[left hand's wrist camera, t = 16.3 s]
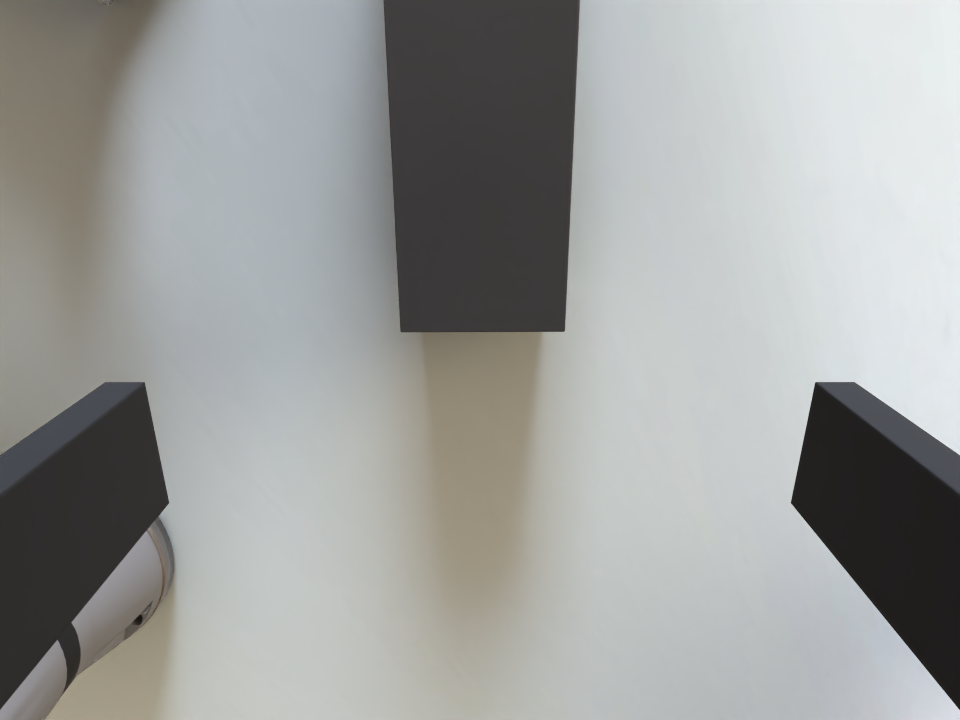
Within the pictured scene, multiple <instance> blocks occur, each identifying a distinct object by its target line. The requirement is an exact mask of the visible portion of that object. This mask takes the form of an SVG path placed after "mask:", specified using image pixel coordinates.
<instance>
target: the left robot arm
mask: <svg viewBox="0 0 960 720" xmlns="http://www.w3.org/2000/svg"><path fill="white" fill-rule="evenodd" d="M168 504H169V500H168V495H167V490H166V486H165V481H164V476H163V471H162V466H161V461H160V456H159V451H158V446H157V441H156V436H155V431H154V426H153V421H152V417H151V412H150V407H149V402H148V397H147V392H146V387H145V382H105V383H104V384H102V385H101V386H99V387H98V388H97V389H95V390H94V391H92V392H91V393H89V394H88V395H86V396H85V397H84V398H82V399H81V400H79V401H78V402H76V403H75V404H74V405H72V406H71V407H69V408H68V409H66V410H65V411H63V412H62V413H61V414H59V415H58V416H56V417H55V418H53V419H52V420H51V421H49V422H48V423H46V424H45V425H43V426H42V427H40V428H39V429H38V430H36V431H35V432H33V433H32V434H30V435H29V436H28V437H26V438H25V439H23V440H22V441H20V442H19V443H17V444H16V445H15V446H13V447H12V448H10V449H9V450H7V451H6V452H4V453H3V454H2V455H0V720H45V718H46V717H47V716H48V714H49V713H50V711H51V710H52V709H53V707H54V706H55V705H56V703H57V702H58V700H59V699H60V697H61V696H62V694H63V693H64V692H65V690H66V689H67V688H68V686H69V685H70V684H71V683H72V681H73V680H74V679H75V677H76V676H77V675H78V674H80V673H81V672H82V671H84V670H85V669H86V668H88V667H89V666H90V665H92V664H93V663H94V662H96V661H97V660H99V659H100V658H101V657H103V656H104V655H105V654H107V653H108V652H109V651H111V650H112V649H113V648H115V647H116V646H117V645H119V644H120V643H121V642H122V641H124V640H125V639H127V638H128V637H129V636H131V635H132V634H133V633H135V632H136V631H137V630H138V629H139V628H141V627H142V626H143V625H144V624H145V623H146V622H147V621H148V620H149V619H150V617H151V616H152V615H153V613H154V612H155V610H156V609H157V607H158V606H159V604H160V603H161V601H162V600H163V598H164V597H165V595H166V593H167V591H168V589H169V587H170V584H171V581H172V577H173V571H174V557H173V551H172V546H171V543H170V539H169V537H168V534H167V532H166V530H165V528H164V526H163V524H162V522H161V521H160V519H159V518H158V516H159V515H160V513H161V512H162V511H163V510H164V508H165V507H166V506H167V505H168ZM791 504H792V505H793V506H794V507H795V508H796V510H797V511H798V512H799V513H800V515H801V516H802V517H803V518H804V520H805V521H806V522H807V523H808V524H809V526H810V527H811V528H812V529H813V531H814V532H815V533H816V534H817V535H818V537H819V538H820V539H821V540H822V542H823V543H824V544H825V545H826V546H827V548H828V549H829V550H830V551H831V553H832V554H833V555H834V556H835V558H836V559H837V560H838V561H839V562H840V564H841V565H842V566H843V567H844V569H845V570H846V571H847V572H848V573H849V575H850V576H851V577H852V578H853V580H854V581H855V582H856V583H857V584H858V586H859V587H860V588H861V589H862V591H863V592H864V593H865V594H866V595H867V597H868V598H869V599H870V600H871V602H872V603H873V604H874V605H875V607H876V608H877V609H878V610H879V611H880V613H881V614H882V615H883V616H884V618H885V619H886V620H887V621H888V622H889V624H890V625H891V626H892V627H893V629H894V630H895V631H896V632H897V633H898V635H899V636H900V637H901V638H902V640H903V641H904V642H905V643H906V645H907V646H908V647H909V648H910V649H911V651H912V652H913V653H914V654H915V656H916V657H917V658H918V659H919V660H920V662H921V663H922V664H923V665H924V667H925V668H926V669H927V670H928V671H929V673H930V674H931V675H932V676H933V678H934V679H935V680H936V681H937V683H938V684H939V685H940V686H941V687H942V689H943V690H944V691H945V692H946V694H947V695H948V696H949V697H950V698H951V700H952V701H953V702H954V703H955V705H956V706H957V707H958V708H959V709H960V455H958V454H957V453H956V452H954V451H953V450H951V449H950V448H948V447H947V446H945V445H944V444H943V443H941V442H940V441H938V440H937V439H935V438H934V437H932V436H931V435H930V434H928V433H927V432H925V431H924V430H922V429H921V428H920V427H918V426H917V425H915V424H914V423H912V422H911V421H909V420H908V419H907V418H905V417H904V416H902V415H901V414H899V413H898V412H897V411H895V410H894V409H892V408H891V407H889V406H888V405H886V404H885V403H884V402H882V401H881V400H879V399H878V398H876V397H875V396H874V395H872V394H871V393H869V392H868V391H866V390H865V389H863V388H862V387H861V386H859V385H858V384H856V383H855V382H815V387H814V392H813V397H812V402H811V407H810V412H809V417H808V421H807V426H806V431H805V436H804V441H803V446H802V451H801V456H800V461H799V466H798V471H797V476H796V481H795V486H794V490H793V495H792V500H791Z"/></svg>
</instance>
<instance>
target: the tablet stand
mask: <svg viewBox="0 0 960 720" xmlns="http://www.w3.org/2000/svg"><path fill="white" fill-rule="evenodd" d="M97 1H99V2H101V3H103V4H105V5H108V6H110V5H111V3H112V1H113V0H97Z"/></svg>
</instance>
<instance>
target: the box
mask: <svg viewBox="0 0 960 720" xmlns="http://www.w3.org/2000/svg"><path fill="white" fill-rule="evenodd" d="M579 9H580V0H384V16H385V36H386V55H387V75H388V95H389V114H390V134H391V153H392V173H393V193H394V212H395V232H396V251H397V271H398V290H399V310H400V330H401V332H564V331H565V316H566V294H567V272H568V250H569V228H570V207H571V185H572V163H573V141H574V119H575V97H576V75H577V53H578V31H579Z"/></svg>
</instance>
